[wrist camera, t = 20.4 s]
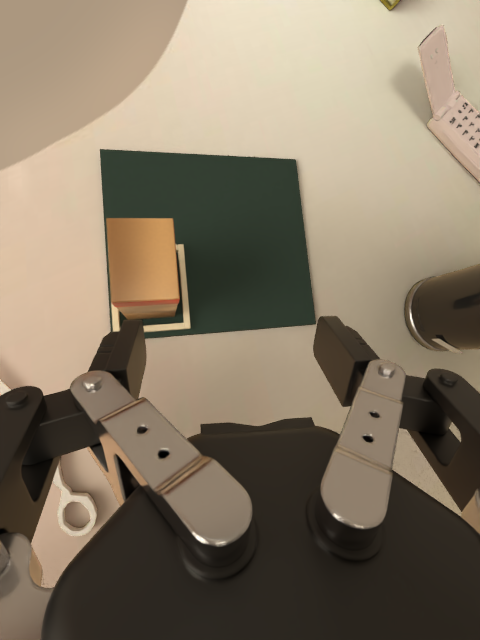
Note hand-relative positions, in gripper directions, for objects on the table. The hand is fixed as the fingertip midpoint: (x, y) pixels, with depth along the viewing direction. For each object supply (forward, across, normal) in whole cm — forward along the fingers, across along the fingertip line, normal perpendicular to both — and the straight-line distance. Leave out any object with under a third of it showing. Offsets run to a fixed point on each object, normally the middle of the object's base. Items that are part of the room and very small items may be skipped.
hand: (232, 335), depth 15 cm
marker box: (+19, +6, +6) cm, 21 cm away
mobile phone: (+36, -35, -9) cm, 51 cm away
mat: (+23, 0, +2) cm, 23 cm away
